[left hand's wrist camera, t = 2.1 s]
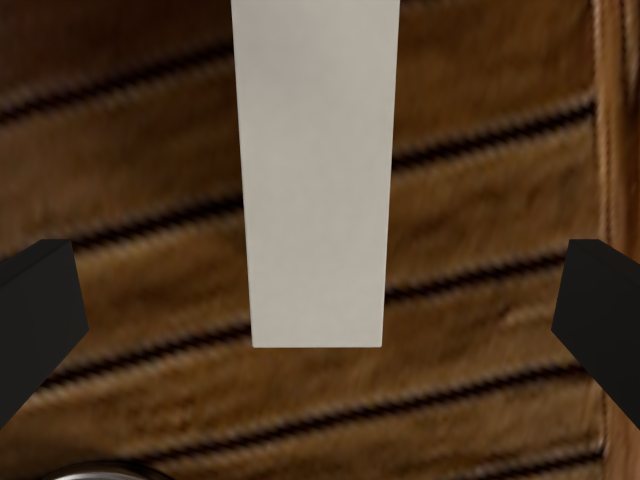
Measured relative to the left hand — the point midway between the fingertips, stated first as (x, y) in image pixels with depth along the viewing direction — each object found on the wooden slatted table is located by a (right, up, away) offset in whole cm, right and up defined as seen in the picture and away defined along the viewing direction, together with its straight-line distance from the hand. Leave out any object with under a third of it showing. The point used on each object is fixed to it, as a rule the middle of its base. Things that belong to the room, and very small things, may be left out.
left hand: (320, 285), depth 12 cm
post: (0, +23, +8) cm, 24 cm away
